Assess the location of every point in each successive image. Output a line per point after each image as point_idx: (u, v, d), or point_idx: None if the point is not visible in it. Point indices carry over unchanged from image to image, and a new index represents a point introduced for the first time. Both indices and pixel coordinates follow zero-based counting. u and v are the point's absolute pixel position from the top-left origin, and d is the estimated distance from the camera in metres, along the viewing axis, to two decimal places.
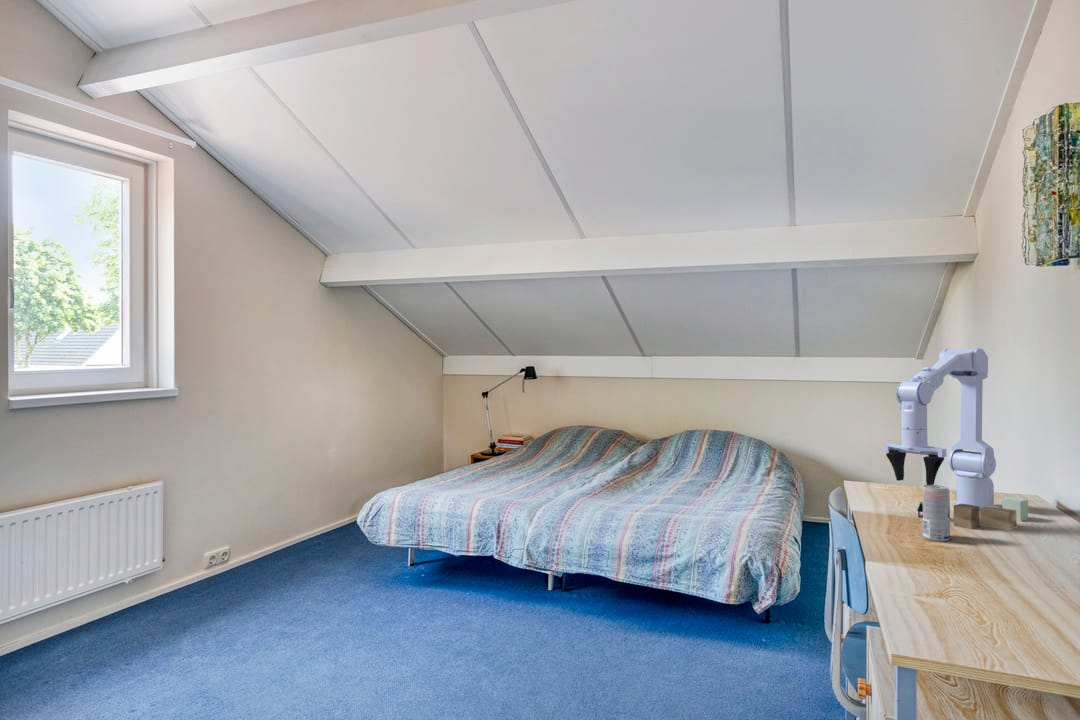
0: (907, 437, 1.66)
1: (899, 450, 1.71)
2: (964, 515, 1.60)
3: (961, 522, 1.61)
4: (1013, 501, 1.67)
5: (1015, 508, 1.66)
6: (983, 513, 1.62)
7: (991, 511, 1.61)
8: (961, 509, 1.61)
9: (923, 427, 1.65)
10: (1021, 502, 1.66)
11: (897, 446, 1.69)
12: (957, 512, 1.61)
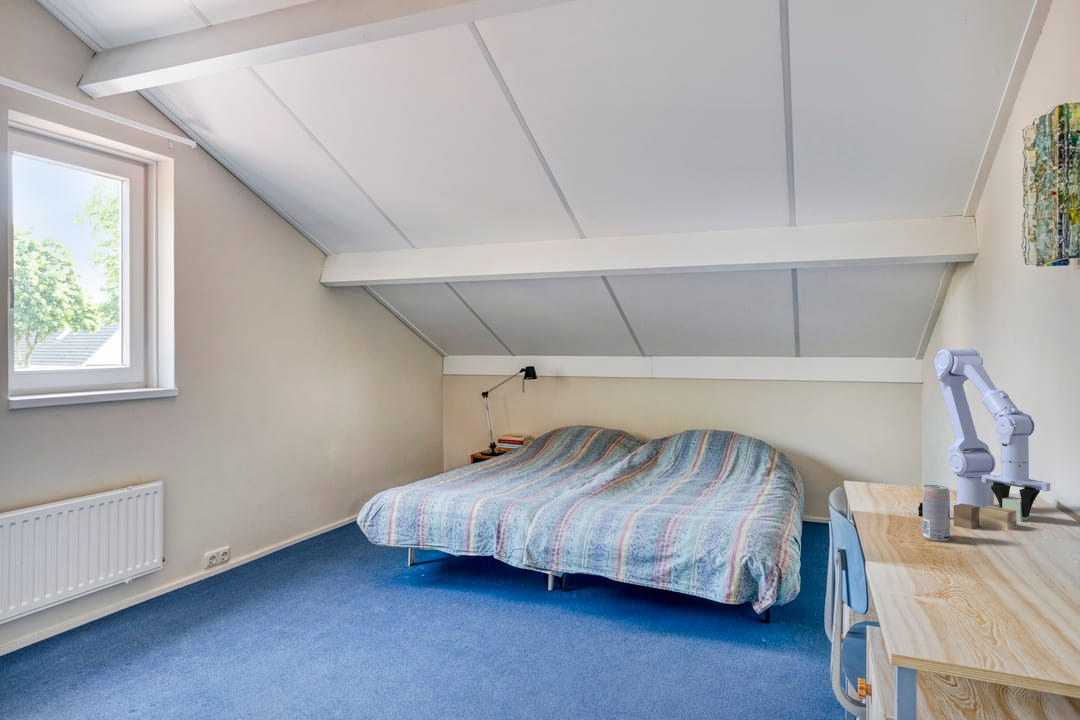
0: (1008, 470, 1.67)
1: (998, 482, 1.71)
2: (964, 515, 1.60)
3: (961, 522, 1.61)
4: (1013, 501, 1.67)
5: (1015, 508, 1.66)
6: (983, 513, 1.62)
7: (991, 511, 1.61)
8: (961, 509, 1.61)
9: None
10: (1021, 501, 1.66)
11: (996, 478, 1.70)
12: (957, 512, 1.61)
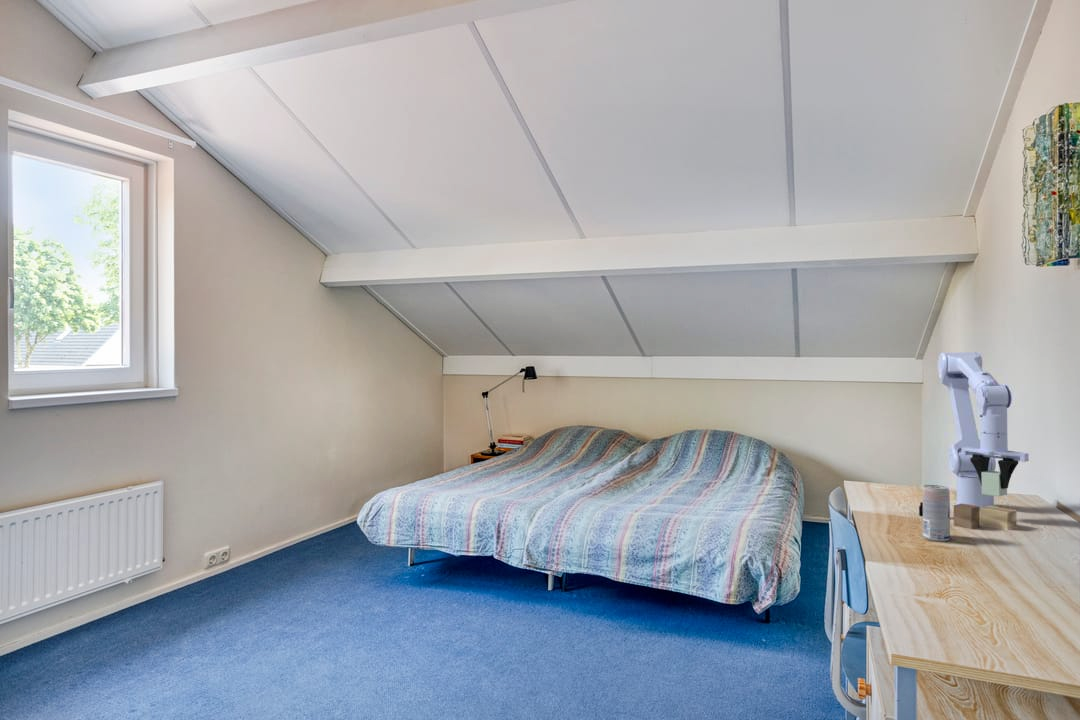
0: (987, 441, 1.66)
1: (977, 454, 1.71)
2: (964, 515, 1.60)
3: (961, 522, 1.61)
4: (992, 474, 1.66)
5: (994, 481, 1.66)
6: (983, 513, 1.62)
7: (991, 511, 1.61)
8: (961, 509, 1.61)
9: None
10: (1000, 475, 1.65)
11: (976, 450, 1.69)
12: (957, 512, 1.61)
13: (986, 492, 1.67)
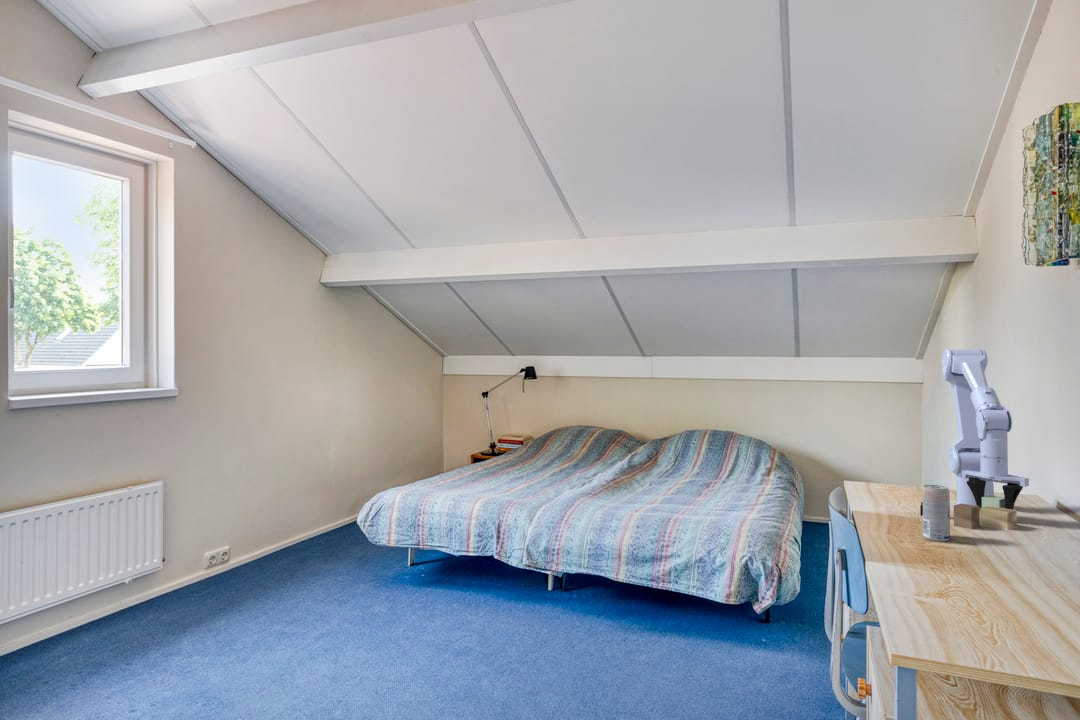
0: (987, 465, 1.66)
1: (977, 478, 1.71)
2: (964, 515, 1.60)
3: (961, 522, 1.61)
4: (992, 499, 1.66)
5: (994, 506, 1.66)
6: (983, 513, 1.62)
7: (991, 511, 1.61)
8: (961, 509, 1.61)
9: (1007, 455, 1.66)
10: (1000, 500, 1.65)
11: (976, 474, 1.69)
12: (957, 512, 1.61)
13: None
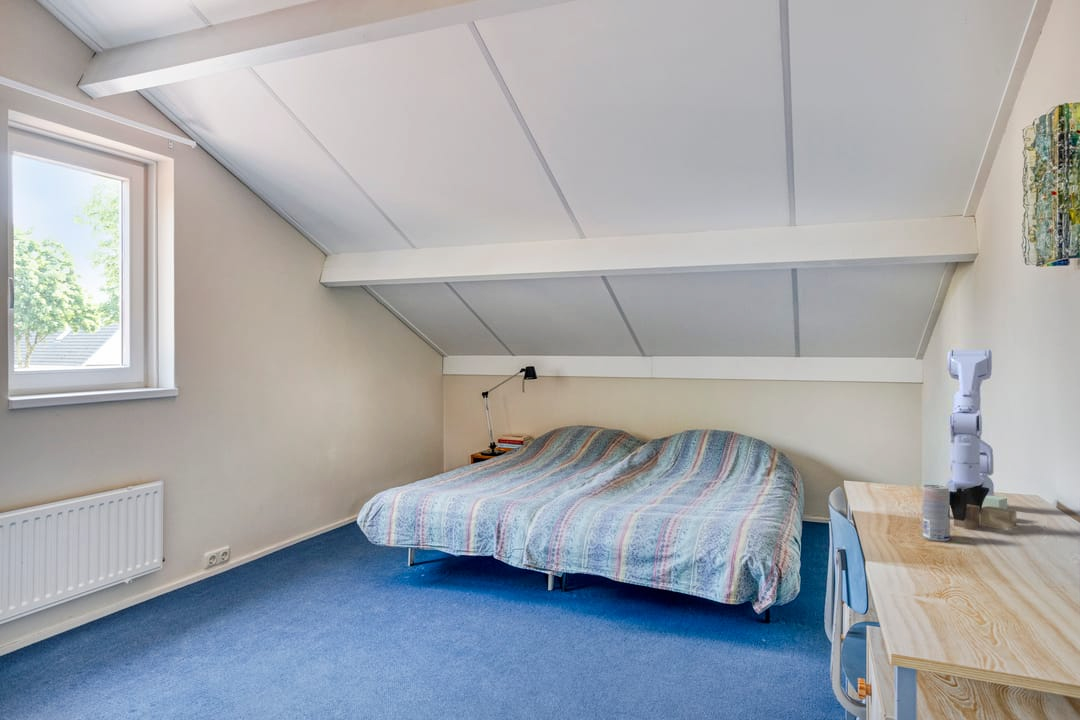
0: None
1: None
2: None
3: (961, 522, 1.61)
4: (992, 499, 1.66)
5: (994, 506, 1.66)
6: (983, 513, 1.62)
7: (991, 511, 1.61)
8: None
9: (979, 461, 1.59)
10: (1000, 500, 1.65)
11: None
12: None
13: None
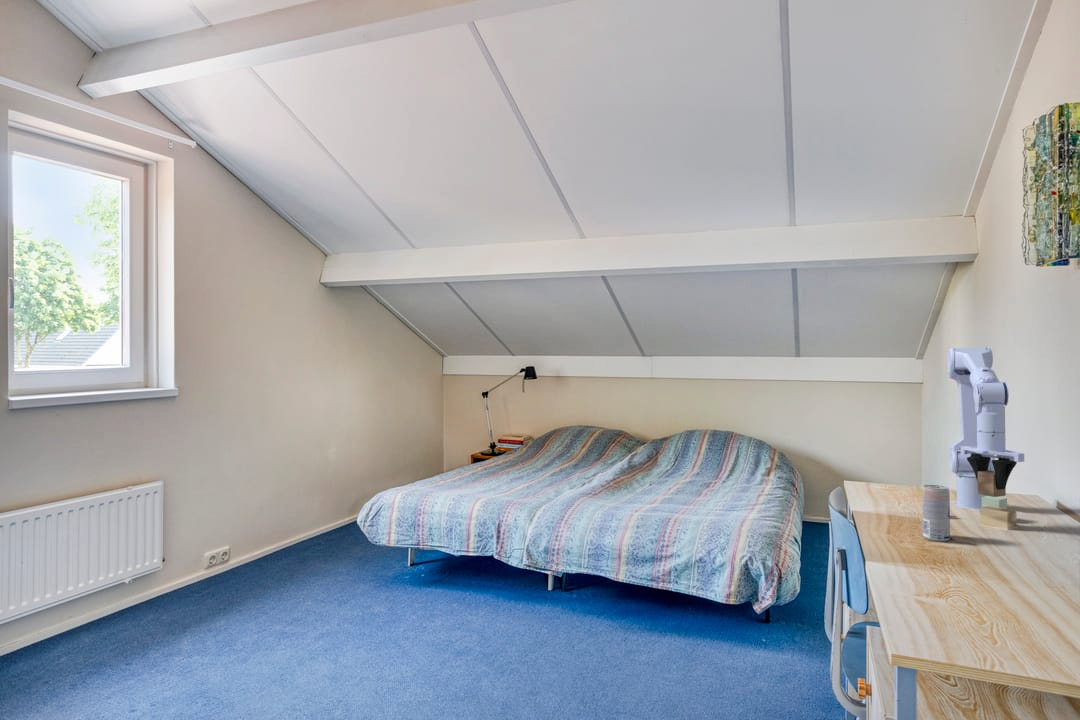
0: (982, 440, 1.61)
1: (975, 453, 1.65)
2: None
3: None
4: (992, 499, 1.66)
5: (994, 506, 1.66)
6: (983, 513, 1.62)
7: (991, 511, 1.61)
8: None
9: None
10: (1000, 500, 1.65)
11: (972, 449, 1.64)
12: None
13: None
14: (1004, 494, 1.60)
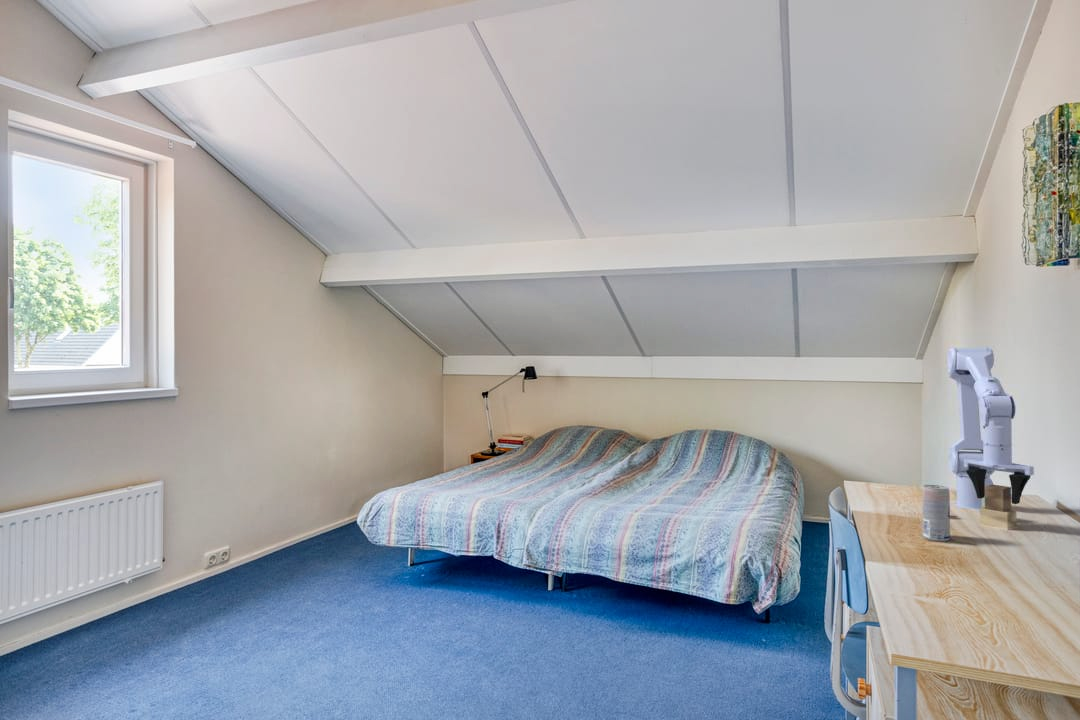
0: (991, 453, 1.60)
1: (980, 467, 1.64)
2: (1008, 495, 1.60)
3: (1006, 504, 1.60)
4: None
5: None
6: (983, 513, 1.62)
7: (991, 511, 1.61)
8: (1006, 490, 1.60)
9: (1011, 443, 1.60)
10: None
11: (979, 463, 1.63)
12: (1004, 495, 1.59)
13: None
14: (1010, 508, 1.61)
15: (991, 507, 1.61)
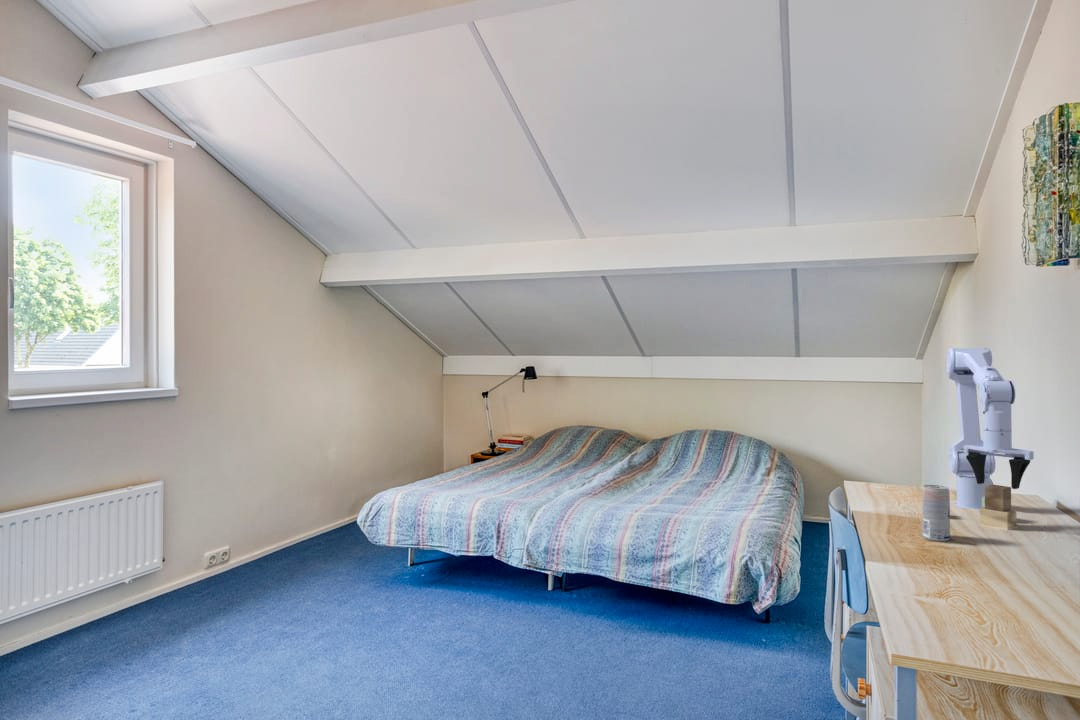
0: (990, 439, 1.60)
1: (980, 452, 1.64)
2: (1008, 495, 1.60)
3: (1006, 504, 1.60)
4: None
5: None
6: (983, 513, 1.62)
7: (991, 511, 1.61)
8: (1006, 490, 1.60)
9: None
10: None
11: (978, 448, 1.63)
12: (1004, 495, 1.59)
13: None
14: (1010, 508, 1.61)
15: (991, 507, 1.61)
